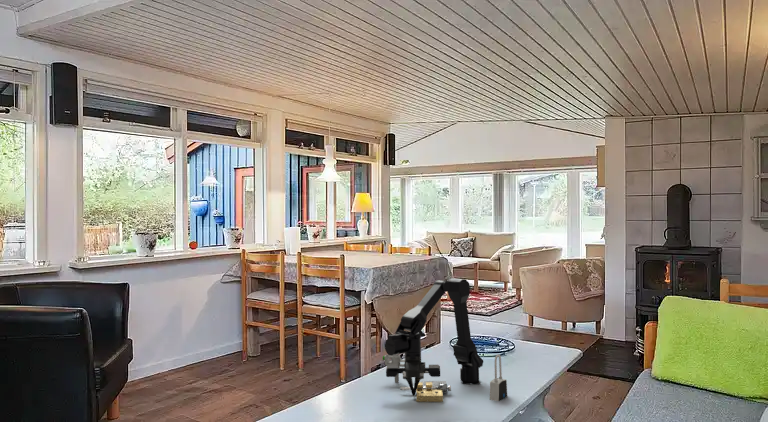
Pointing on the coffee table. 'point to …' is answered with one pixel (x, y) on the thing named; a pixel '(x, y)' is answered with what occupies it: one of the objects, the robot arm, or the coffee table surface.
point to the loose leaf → (428, 394)
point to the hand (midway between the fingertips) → (413, 395)
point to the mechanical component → (394, 363)
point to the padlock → (498, 384)
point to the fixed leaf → (433, 386)
